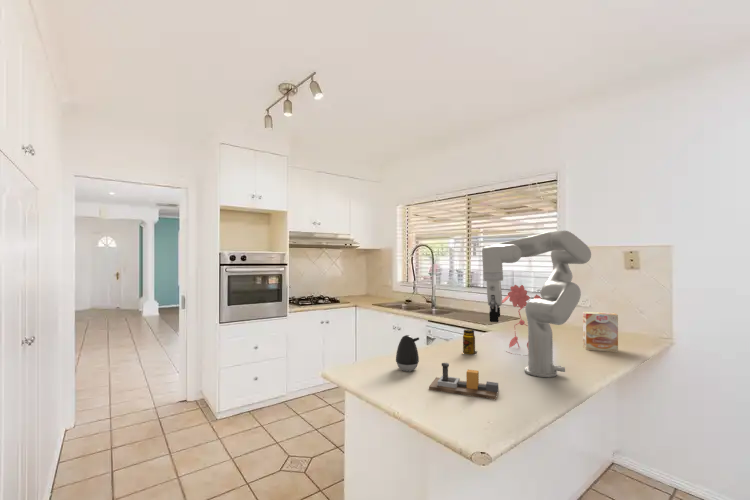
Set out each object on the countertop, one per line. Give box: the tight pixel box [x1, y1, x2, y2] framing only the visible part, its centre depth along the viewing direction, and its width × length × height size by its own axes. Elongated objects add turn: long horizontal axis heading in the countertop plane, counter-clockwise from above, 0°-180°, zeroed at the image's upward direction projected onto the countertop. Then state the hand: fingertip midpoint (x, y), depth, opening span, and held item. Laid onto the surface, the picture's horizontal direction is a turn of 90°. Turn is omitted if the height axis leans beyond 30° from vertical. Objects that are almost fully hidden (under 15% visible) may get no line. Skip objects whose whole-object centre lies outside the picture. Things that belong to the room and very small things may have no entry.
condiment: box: [462, 328, 478, 356], centre depth 186 cm, size 7×8×12 cm
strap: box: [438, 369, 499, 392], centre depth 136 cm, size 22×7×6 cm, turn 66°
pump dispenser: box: [395, 334, 420, 372], centre depth 160 cm, size 10×10×15 cm
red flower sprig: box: [502, 284, 542, 357], centre depth 190 cm, size 15×26×35 cm, turn 32°
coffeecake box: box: [582, 311, 619, 353], centre depth 192 cm, size 15×7×20 cm, turn 73°
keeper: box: [428, 362, 498, 401], centre depth 136 cm, size 24×11×9 cm, turn 66°
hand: (495, 319), depth 145 cm, fingers open, 9 cm apart
